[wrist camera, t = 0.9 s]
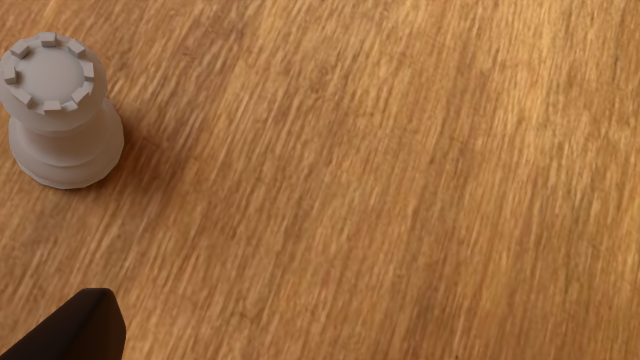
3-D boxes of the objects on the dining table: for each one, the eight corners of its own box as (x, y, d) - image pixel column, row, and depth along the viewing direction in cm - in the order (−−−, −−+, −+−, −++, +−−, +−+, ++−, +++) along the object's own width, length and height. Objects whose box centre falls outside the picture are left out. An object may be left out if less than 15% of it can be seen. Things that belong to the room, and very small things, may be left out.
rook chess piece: (2, 185, 24) (-49, 131, 17) (20, 82, 25) (-21, -12, 18) (118, 196, 25) (118, 150, 18) (130, 99, 26) (134, 17, 19)
